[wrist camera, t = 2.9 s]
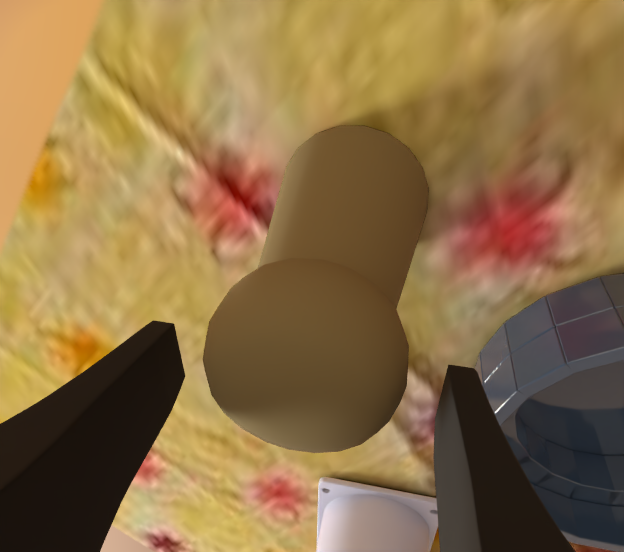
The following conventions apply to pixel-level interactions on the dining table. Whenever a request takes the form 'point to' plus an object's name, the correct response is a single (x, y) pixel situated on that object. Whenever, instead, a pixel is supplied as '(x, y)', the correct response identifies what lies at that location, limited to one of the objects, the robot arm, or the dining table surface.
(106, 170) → the dining table surface
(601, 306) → the bowl
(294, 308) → the cork
